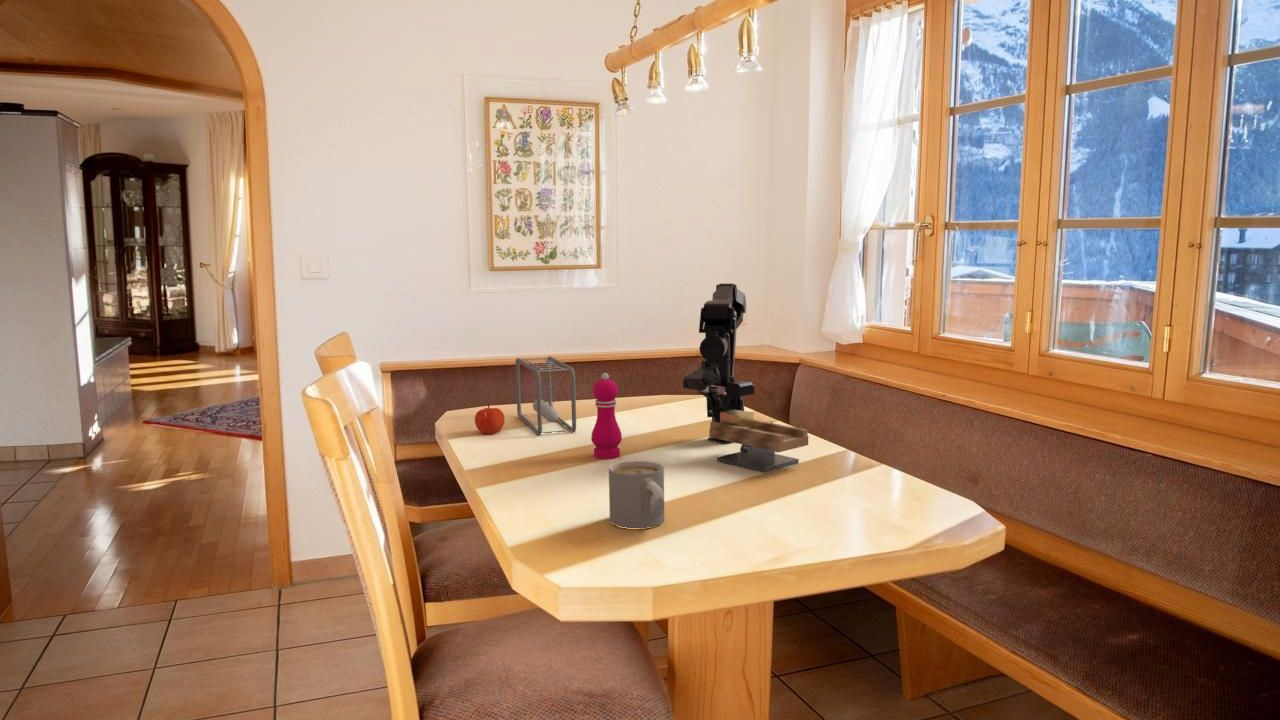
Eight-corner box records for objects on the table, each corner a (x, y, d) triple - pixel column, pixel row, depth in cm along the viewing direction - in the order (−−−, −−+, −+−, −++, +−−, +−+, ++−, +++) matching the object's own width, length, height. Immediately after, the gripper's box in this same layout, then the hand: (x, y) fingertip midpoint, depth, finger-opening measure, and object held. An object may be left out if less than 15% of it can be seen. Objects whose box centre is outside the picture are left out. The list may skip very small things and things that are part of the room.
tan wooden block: (720, 426, 203) (719, 412, 202) (734, 423, 206) (734, 409, 205) (738, 430, 198) (738, 415, 198) (753, 427, 201) (753, 412, 201)
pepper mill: (586, 457, 205) (584, 374, 202) (601, 451, 211) (599, 370, 209) (612, 460, 202) (610, 375, 199) (627, 454, 208) (626, 371, 205)
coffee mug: (603, 516, 161) (602, 463, 159) (653, 510, 164) (653, 458, 162) (625, 538, 148) (624, 481, 147) (679, 531, 151) (678, 476, 150)
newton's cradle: (576, 433, 232) (575, 368, 229) (538, 437, 228) (536, 370, 226) (551, 414, 260) (549, 355, 257) (517, 416, 256) (515, 357, 254)
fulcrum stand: (717, 461, 199) (717, 440, 199) (752, 452, 207) (752, 432, 206) (763, 472, 189) (763, 450, 188) (798, 463, 196) (798, 441, 196)
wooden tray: (709, 437, 202) (709, 421, 202) (738, 430, 208) (738, 415, 208) (778, 452, 186) (778, 435, 186) (808, 445, 193) (808, 428, 192)
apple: (500, 436, 229) (498, 407, 228) (470, 436, 230) (469, 406, 229) (509, 430, 237) (508, 401, 236) (481, 430, 238) (479, 401, 237)
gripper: (666, 355, 206) (666, 420, 208) (721, 362, 192) (722, 431, 194) (699, 351, 213) (700, 413, 215) (756, 358, 199) (756, 424, 201)
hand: (718, 420), depth 206 cm, fingers closed
